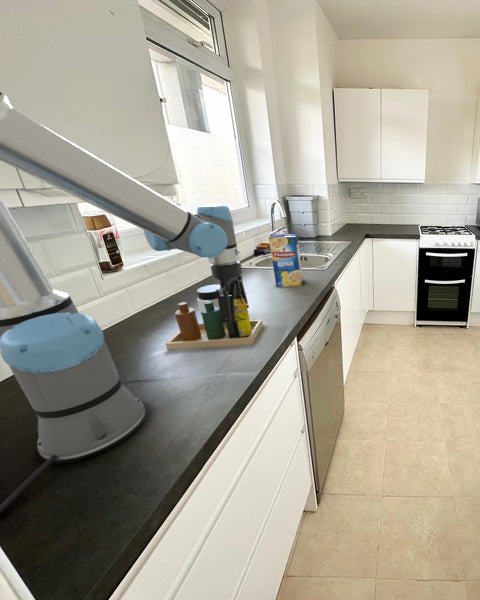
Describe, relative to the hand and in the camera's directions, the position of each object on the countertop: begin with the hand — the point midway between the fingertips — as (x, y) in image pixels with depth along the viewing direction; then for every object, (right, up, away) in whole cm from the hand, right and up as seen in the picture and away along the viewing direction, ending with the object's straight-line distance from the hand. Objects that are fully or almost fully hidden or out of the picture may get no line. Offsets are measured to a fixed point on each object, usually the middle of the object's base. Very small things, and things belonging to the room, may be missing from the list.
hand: (240, 334), depth 96 cm
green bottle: (-7, -1, -1) cm, 7 cm away
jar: (-13, +3, +11) cm, 17 cm away
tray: (-6, -1, 0) cm, 7 cm away
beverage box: (-1, +18, +47) cm, 50 cm away
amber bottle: (-14, -1, -2) cm, 14 cm away
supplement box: (0, 0, 0) cm, 0 cm away
